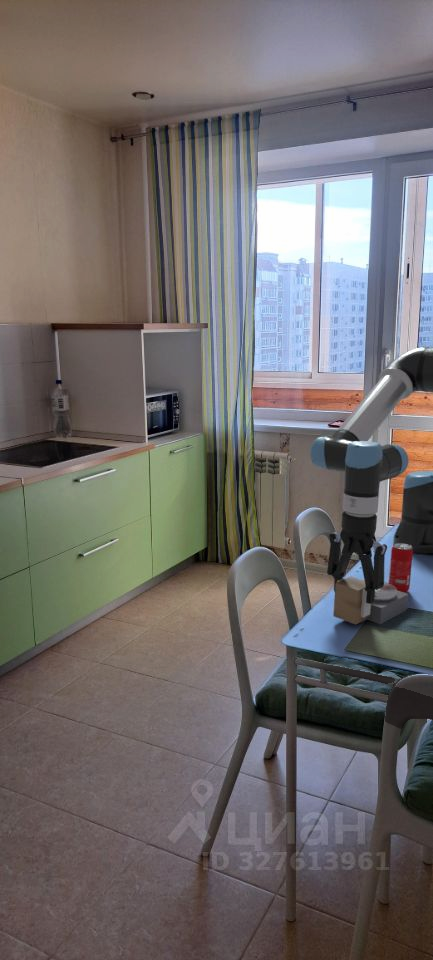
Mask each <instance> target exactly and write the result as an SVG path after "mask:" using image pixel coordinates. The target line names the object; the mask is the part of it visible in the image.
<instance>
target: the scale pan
mask: <svg viewBox="0 0 433 960" xmlns="http://www.w3.org/2000/svg"><path fill="white" fill-rule="evenodd" d="M396 597H397V589H396V587H394V586H393V585H391V584H389V582H385V581H384V586H383V587H382V588H380V589H378V590H375V598H374V602H390V601H393V600H395V599H396Z"/></svg>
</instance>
